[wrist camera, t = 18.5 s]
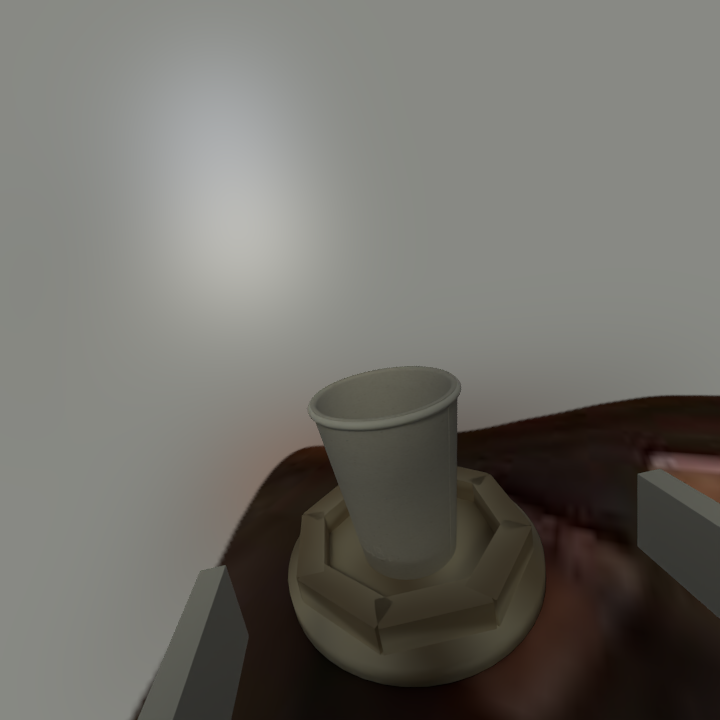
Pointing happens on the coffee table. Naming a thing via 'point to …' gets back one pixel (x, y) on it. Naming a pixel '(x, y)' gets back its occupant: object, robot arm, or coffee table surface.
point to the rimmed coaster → (421, 592)
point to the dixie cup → (395, 463)
